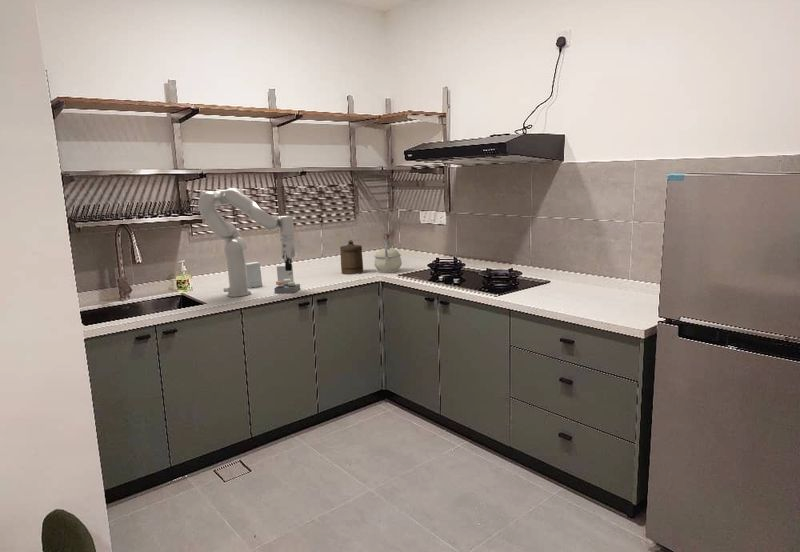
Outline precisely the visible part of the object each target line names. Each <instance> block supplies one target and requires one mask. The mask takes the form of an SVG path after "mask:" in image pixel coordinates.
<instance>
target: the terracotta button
mask: <svg viewBox="0 0 800 552" xmlns="http://www.w3.org/2000/svg"><path fill="white" fill-rule="evenodd" d="M282 284H283V281H278V280H277V281H275V285H276V286H278V285H282Z"/></svg>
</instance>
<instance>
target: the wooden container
mask: <svg viewBox="0 0 800 552" xmlns="http://www.w3.org/2000/svg"><path fill="white" fill-rule="evenodd" d="M347 243H348V244H347V245H342V246H340V247H339V249H340V268H341V274H343V275H358V274H362V273H364V261H363V260H364V259H363V251H362V250H363V249H362V247H363V246H362V244H354V241H353V239H352V240H348V242H347ZM357 273H358V274H357Z"/></svg>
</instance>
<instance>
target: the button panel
mask: <svg viewBox="0 0 800 552" xmlns="http://www.w3.org/2000/svg"><path fill="white" fill-rule="evenodd" d="M273 290H274V294H275V293H278V294H294V293H296V292H298V291H299V290H301V284H300V283H295V285H294V286H288V284H282V285H280V286H278V285H276V286H275V287H274V289H273Z"/></svg>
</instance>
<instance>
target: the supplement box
mask: <svg viewBox="0 0 800 552" xmlns="http://www.w3.org/2000/svg"><path fill="white" fill-rule="evenodd" d="M276 275H277V276H276V277H277V281H283V284H288V282H287V283H284V279H291V282H295V281H294V269H293V266H292V270H291V271H286V270H285V264H280V265H277V266H276ZM277 286H280V285H277Z"/></svg>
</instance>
